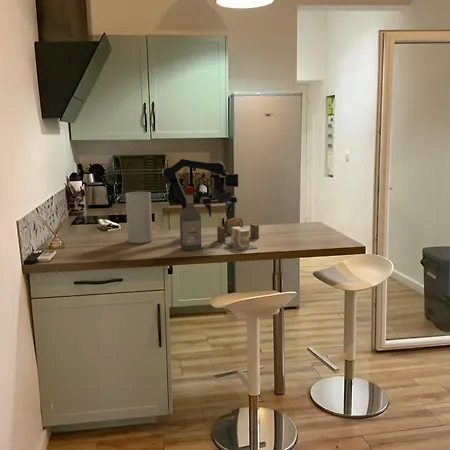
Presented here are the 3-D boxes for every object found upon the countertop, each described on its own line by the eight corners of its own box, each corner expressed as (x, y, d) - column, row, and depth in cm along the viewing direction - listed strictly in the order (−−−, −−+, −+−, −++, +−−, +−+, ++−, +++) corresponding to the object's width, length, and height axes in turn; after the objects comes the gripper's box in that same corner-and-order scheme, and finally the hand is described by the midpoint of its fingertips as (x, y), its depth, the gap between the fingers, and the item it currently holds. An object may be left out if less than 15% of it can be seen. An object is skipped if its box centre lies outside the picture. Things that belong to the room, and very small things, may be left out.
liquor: (202, 250, 252) (201, 187, 246) (183, 251, 249) (182, 188, 243) (197, 245, 260) (196, 185, 254) (179, 247, 258) (178, 186, 252)
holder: (221, 242, 267) (221, 229, 265) (217, 240, 272) (217, 227, 271) (258, 238, 275) (258, 225, 273) (253, 236, 280) (253, 223, 279)
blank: (231, 242, 264) (231, 227, 263) (238, 241, 266) (238, 226, 264) (241, 247, 253) (241, 231, 252) (249, 246, 255) (249, 230, 253)
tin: (227, 236, 282) (227, 220, 280) (222, 235, 283) (222, 220, 282) (243, 231, 293) (243, 216, 292) (238, 230, 295) (238, 216, 294)
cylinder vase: (123, 242, 269) (120, 194, 264) (136, 237, 280) (134, 191, 275) (144, 244, 264) (142, 195, 259) (156, 239, 275) (155, 192, 271)
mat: (238, 250, 250) (238, 249, 250) (223, 242, 266) (223, 242, 266) (257, 248, 254) (257, 247, 254) (241, 240, 270) (241, 240, 270)
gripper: (206, 189, 261) (206, 220, 264) (241, 187, 267) (240, 218, 271) (199, 186, 271) (199, 216, 274) (233, 185, 278) (232, 214, 281)
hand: (218, 216), depth 275 cm, fingers open, 9 cm apart
